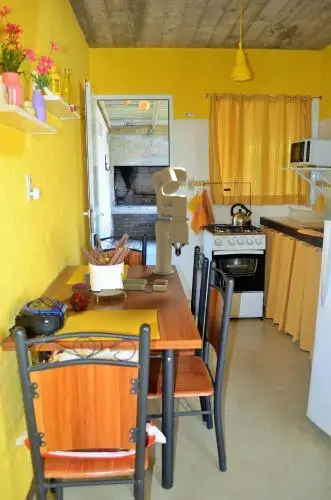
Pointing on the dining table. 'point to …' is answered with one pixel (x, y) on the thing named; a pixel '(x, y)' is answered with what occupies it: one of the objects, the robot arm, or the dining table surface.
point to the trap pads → (149, 290)
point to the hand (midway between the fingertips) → (177, 256)
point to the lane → (141, 285)
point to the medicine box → (87, 279)
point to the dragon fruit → (80, 300)
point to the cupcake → (80, 286)
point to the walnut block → (160, 282)
